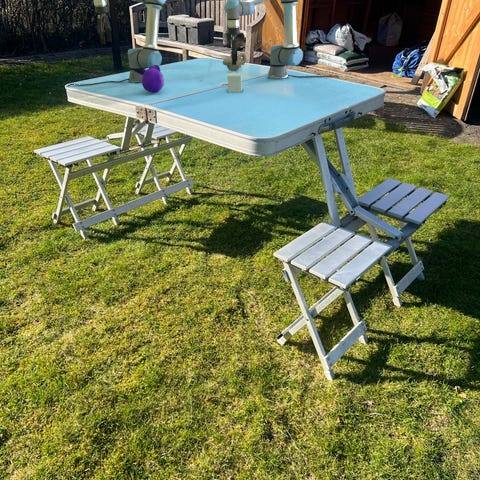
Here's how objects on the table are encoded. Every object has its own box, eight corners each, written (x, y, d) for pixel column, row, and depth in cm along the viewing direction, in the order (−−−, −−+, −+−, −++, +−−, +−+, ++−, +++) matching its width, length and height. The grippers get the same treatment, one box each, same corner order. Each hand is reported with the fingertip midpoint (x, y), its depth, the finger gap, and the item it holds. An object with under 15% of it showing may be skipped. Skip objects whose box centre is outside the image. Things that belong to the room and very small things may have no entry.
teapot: (226, 73, 360) (225, 53, 353) (219, 71, 369) (219, 51, 361) (249, 70, 370) (249, 50, 362) (242, 68, 378) (241, 49, 371)
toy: (156, 85, 322) (164, 98, 301) (131, 81, 314) (137, 93, 294) (160, 63, 314) (168, 74, 293) (135, 58, 306) (141, 69, 286)
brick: (241, 92, 300) (240, 75, 295) (228, 92, 301) (227, 75, 296) (241, 89, 308) (241, 73, 302) (229, 89, 308) (228, 73, 303)
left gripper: (100, 7, 269) (106, 45, 280) (112, 4, 291) (117, 40, 302) (88, 7, 270) (94, 45, 281) (101, 5, 291) (106, 40, 302)
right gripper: (238, 29, 274) (239, 65, 285) (240, 24, 295) (241, 59, 306) (226, 29, 274) (227, 66, 285) (229, 25, 295) (230, 59, 306)
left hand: (106, 42), depth 291 cm, fingers open, 13 cm apart
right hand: (234, 62), depth 295 cm, fingers open, 13 cm apart
